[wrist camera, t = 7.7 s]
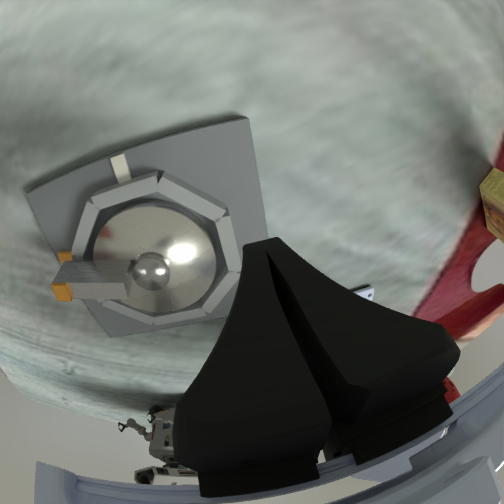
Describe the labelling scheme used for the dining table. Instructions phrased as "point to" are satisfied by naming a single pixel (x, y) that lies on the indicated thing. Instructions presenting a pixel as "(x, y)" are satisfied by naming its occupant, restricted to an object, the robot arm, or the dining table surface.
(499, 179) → the candy box
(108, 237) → the dial
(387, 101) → the dining table surface
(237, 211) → the board
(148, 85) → the dining table surface
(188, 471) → the figurine
